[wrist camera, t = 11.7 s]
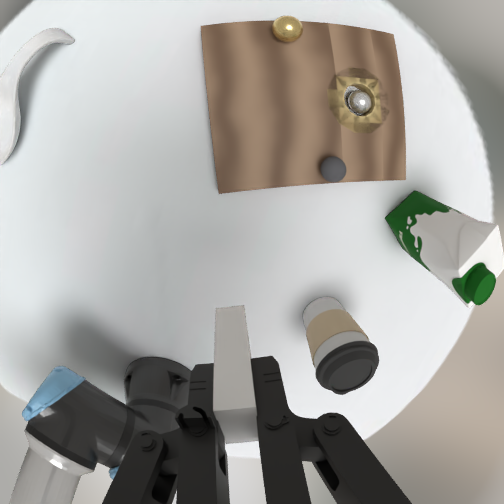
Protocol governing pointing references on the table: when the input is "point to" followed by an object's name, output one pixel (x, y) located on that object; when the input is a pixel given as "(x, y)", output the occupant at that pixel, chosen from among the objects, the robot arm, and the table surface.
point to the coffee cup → (338, 347)
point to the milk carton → (450, 246)
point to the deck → (301, 104)
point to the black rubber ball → (333, 169)
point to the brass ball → (287, 28)
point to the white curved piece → (6, 87)
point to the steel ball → (359, 101)
